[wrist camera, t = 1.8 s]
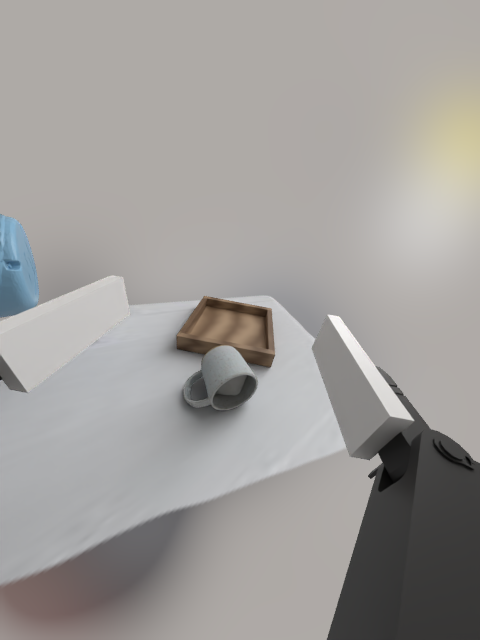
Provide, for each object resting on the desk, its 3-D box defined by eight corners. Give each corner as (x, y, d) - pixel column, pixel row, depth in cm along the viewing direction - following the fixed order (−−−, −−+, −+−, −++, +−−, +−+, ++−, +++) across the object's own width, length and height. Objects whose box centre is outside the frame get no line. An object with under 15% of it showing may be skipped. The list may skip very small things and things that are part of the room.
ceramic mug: (234, 366, 37) (239, 336, 33) (253, 402, 31) (263, 370, 26) (179, 380, 32) (177, 347, 28) (189, 425, 26) (188, 391, 22)
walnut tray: (177, 348, 38) (176, 335, 37) (203, 306, 55) (204, 295, 54) (270, 367, 38) (274, 354, 36) (268, 318, 55) (271, 308, 53)
